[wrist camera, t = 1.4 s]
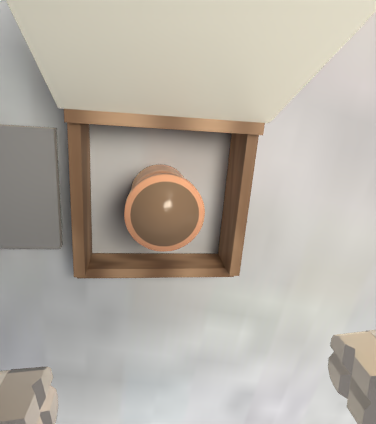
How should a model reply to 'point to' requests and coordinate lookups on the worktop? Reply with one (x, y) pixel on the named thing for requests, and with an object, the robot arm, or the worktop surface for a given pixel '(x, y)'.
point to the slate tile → (29, 188)
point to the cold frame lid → (185, 52)
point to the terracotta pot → (163, 209)
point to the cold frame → (161, 263)
